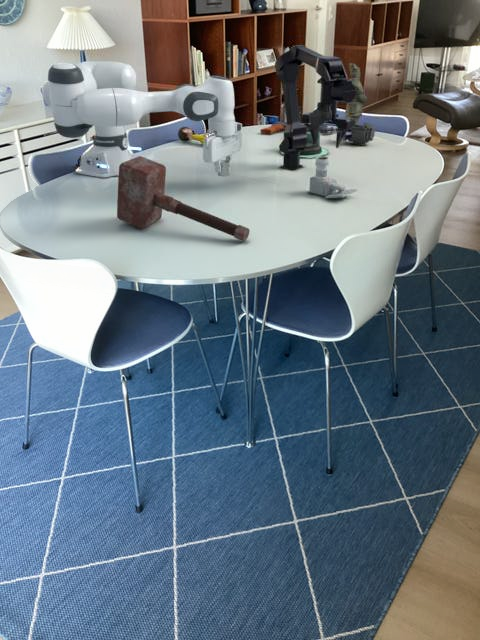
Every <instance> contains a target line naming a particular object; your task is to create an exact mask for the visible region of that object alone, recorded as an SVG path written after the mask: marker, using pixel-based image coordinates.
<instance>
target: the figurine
mask: <svg viewBox="0 0 480 640" xmlns="http://www.w3.org/2000/svg"><path fill="white" fill-rule="evenodd" d="M207 134H209V129H207V130H206V132H205V133H204V134H202V135H201V134H198V133H195V130H193V129H191V128H189V127H188V126H182V127H180V128H179V129H178V132H177V137H178V139H179V141H182V142H191V141H192V140H194V141H198V142H200V143H201V144H204V140H205V138H206V136H207Z"/></svg>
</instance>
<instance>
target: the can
mask: <svg viewBox="0 0 480 640" xmlns="http://www.w3.org/2000/svg"><path fill="white" fill-rule="evenodd" d="M220 165H221V166H222V172H220V173H219V172H217V176H218V177H229V176H230V168H229V161H228V160H225V159H221V162H220Z"/></svg>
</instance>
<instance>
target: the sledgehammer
mask: <svg viewBox="0 0 480 640" xmlns="http://www.w3.org/2000/svg"><path fill="white" fill-rule="evenodd" d="M166 175H167V168H166V166H165V165H164V164H163V163H159V162H157V161H155V160H153V159H149V158H146V157H143V156H141V155H138V156H136V157H133V158H130V160H128V161H126V162H123V163H121V164H120V166H119V175H118V179H117V200H116V218H117V219H118V220H119V221H122V222H124V223H125V224H128V225H131V226H133V227H136V228H137V229H140V230H144V229H147V228H148V227H150V226H151V225H153V224H155V223H157V222H158V221H160V220H161V219H162V215H163V211H166V212H167V213H172V214H174V215H180V216H182V217H185V218H187V219H190V220H192V221H195V222H196V223H199V224H202V225H204V226H207V227H210V228H212V229H214V230H216V231H219V232H221V233H225V234H227V235H230V236H231V237H233V238H234V239H236V240H238V241H241V242H246V241H247V239H248V238H249V236H250V228H248V227H246V226H244V225H241V224H236V223H233V222H230V221H228V220H226V219H222V218H221V217H218V216H215V215H213V214H210V213H208V212H205V211H203V210H201V209H198V208H195V207H193V206H191V205H189V204H186V203H183V202H182V201H181V200H178V199H176V198H174V197H172V196H169V195H166V194H165V188H166Z"/></svg>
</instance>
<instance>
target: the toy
mask: <svg viewBox="0 0 480 640" xmlns="http://www.w3.org/2000/svg"><path fill="white" fill-rule="evenodd" d="M357 124H358V123H357ZM357 124H355V126H354V127H351V129H348V131H347V133H346V134H345V136H344V138H343V140H342V142H346V141H348V142H349V143H352V145H358V146H359V145H360V146H366V144H367V143H369V142H373V140H374V138H375V133H376V129H375V127H374V126H372V123H370V122H363V124H358V125H357Z"/></svg>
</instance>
